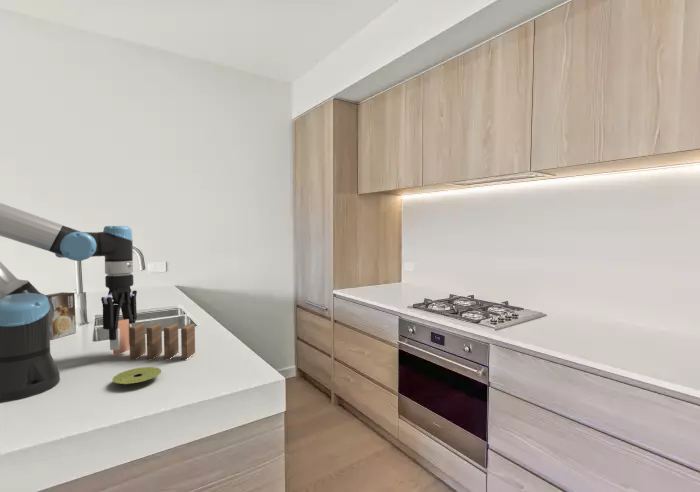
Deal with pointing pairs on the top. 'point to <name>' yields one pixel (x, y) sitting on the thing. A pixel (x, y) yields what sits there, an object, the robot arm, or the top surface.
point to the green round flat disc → (136, 375)
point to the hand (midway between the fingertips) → (121, 346)
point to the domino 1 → (123, 336)
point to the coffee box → (62, 315)
